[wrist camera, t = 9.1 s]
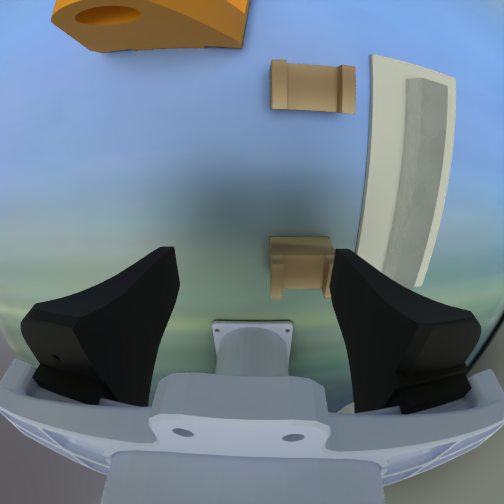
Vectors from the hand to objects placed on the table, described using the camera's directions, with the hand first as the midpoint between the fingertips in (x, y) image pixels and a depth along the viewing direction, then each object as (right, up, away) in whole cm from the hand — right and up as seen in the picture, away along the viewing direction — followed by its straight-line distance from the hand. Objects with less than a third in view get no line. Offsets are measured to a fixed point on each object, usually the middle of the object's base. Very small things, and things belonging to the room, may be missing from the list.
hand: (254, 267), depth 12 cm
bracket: (-6, +19, +2) cm, 19 cm away
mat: (+13, +6, +7) cm, 16 cm away
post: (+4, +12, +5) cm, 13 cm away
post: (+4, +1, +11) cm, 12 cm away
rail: (+13, +6, +7) cm, 16 cm away
